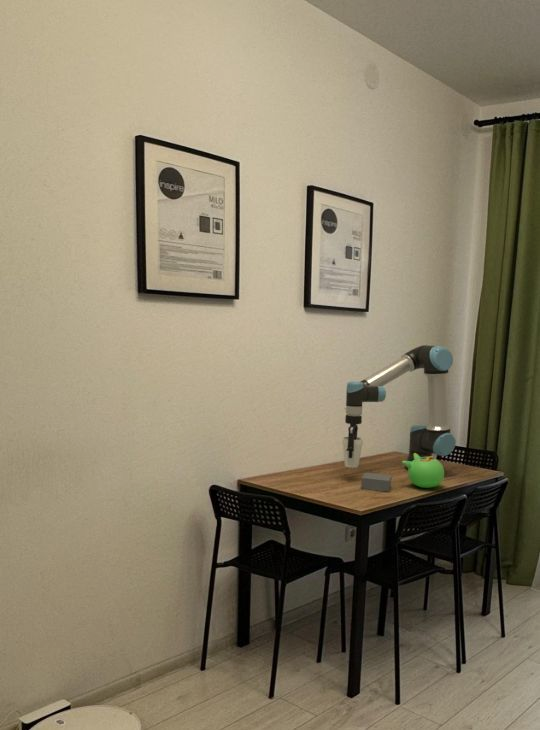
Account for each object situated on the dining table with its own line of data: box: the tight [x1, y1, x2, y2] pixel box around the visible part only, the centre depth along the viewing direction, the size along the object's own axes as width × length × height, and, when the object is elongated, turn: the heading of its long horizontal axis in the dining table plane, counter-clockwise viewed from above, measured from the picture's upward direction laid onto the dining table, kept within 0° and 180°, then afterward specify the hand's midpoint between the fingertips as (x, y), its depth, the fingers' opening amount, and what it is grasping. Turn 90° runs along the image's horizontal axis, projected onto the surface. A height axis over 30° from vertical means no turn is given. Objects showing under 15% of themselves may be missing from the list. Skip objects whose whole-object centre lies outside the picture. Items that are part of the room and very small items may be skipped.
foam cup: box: [341, 436, 364, 469], centre depth 291 cm, size 10×9×13 cm
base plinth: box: [360, 472, 392, 493], centre depth 279 cm, size 12×12×5 cm
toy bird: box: [401, 453, 445, 489], centre depth 284 cm, size 18×17×15 cm
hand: (351, 462), depth 292 cm, fingers closed on foam cup, 9 cm apart
